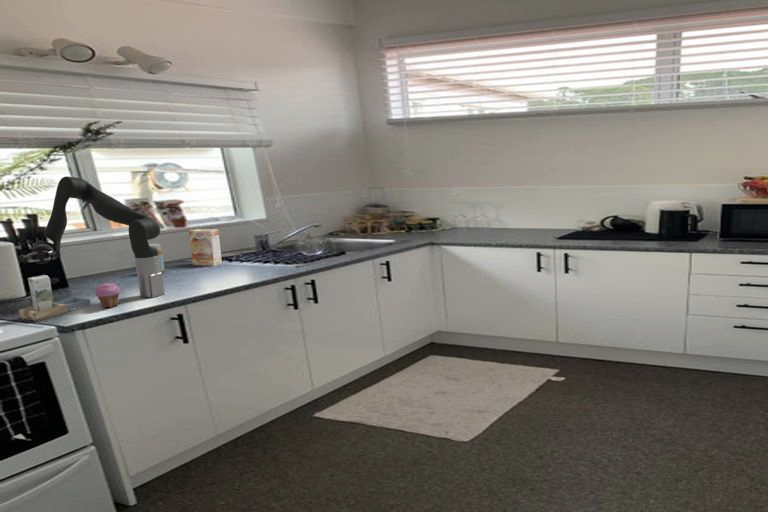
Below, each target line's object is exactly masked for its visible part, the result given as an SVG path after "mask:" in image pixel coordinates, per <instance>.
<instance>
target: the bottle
mask: <svg viewBox="0 0 768 512" xmlns="http://www.w3.org/2000/svg"><path fill="white" fill-rule="evenodd" d="M149 246H150V247H153V248H156V249H157V250H158V256H159V264H160V272H161V273H162V274H163V273H165V271H166V270H165V263H164V262H165V261H164V255H163V251H162V245H161V243H151V244H149Z"/></svg>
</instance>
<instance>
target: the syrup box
mask: <svg viewBox="0 0 768 512" xmlns="http://www.w3.org/2000/svg"><path fill="white" fill-rule="evenodd" d="M27 281H28V286H29V291H30V297H31V305H32V306H33V311H35V312H38V311H42V310H45V309H49V308H53V307H54V298H53V291H52V285H51V279H50V277H49V276H48V275H46V274H42V275H37V276H32V277H31V276H30V277H27Z"/></svg>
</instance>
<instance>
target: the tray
mask: <svg viewBox="0 0 768 512" xmlns="http://www.w3.org/2000/svg"><path fill="white" fill-rule="evenodd" d="M53 303H54V302H53ZM17 311H18V316H19V320H24V319H26V320H25V321H30V320H33V321H32V322H35V321H38V322H40V321H39V320H42V321H44V320H43V319H45V320H48V319H47V318H49V319H51V318H50V317H52V318H55V317H54V316H56V317H58V316H57V315H60V314H63V313H67V312H68V313H69V311H67V305H66V304H59V303H54V307H53V308H49V309H45V310H42V311H38V312H35V311H33V305H32V306H28V307H24V308H20V309H18V310H17ZM68 313H67V314H68ZM63 315H64V314H63ZM60 316H61V315H60Z"/></svg>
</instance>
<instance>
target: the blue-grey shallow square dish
mask: <svg viewBox="0 0 768 512" xmlns="http://www.w3.org/2000/svg"><path fill="white" fill-rule="evenodd" d="M53 303H59V304H66V305H67V310H71V309H74V308H78V307H82V306H85V307H87V306H86V305H89V306H91V305H90V304H91V299H90V298H83V297H76V296H73V297H70V298H67V299H62V300H58V301H55V302H54V301H53ZM82 308H83V307H82ZM78 309H79V308H78ZM74 310H75V309H74ZM71 311H72V310H71Z"/></svg>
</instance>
